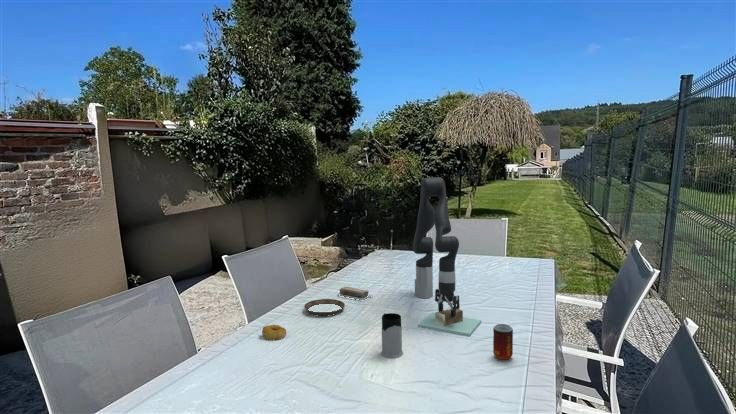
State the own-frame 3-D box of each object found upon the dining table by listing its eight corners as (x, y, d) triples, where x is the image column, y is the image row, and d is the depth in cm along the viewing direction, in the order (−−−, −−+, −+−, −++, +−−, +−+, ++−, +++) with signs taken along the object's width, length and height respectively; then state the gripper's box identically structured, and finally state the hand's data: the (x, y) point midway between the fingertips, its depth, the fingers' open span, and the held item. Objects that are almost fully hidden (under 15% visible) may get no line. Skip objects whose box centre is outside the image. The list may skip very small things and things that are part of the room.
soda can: (501, 351, 171) (501, 321, 169) (516, 358, 165) (517, 327, 164) (489, 356, 167) (489, 325, 165) (504, 363, 161) (504, 331, 160)
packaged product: (336, 288, 246) (347, 284, 254) (336, 297, 246) (347, 292, 254) (362, 293, 235) (372, 289, 243) (362, 302, 236) (373, 297, 244)
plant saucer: (352, 307, 228) (351, 301, 227) (332, 320, 209) (332, 314, 209) (318, 302, 236) (318, 296, 236) (296, 315, 218) (296, 308, 217)
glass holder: (384, 359, 166) (384, 321, 165) (374, 344, 180) (373, 309, 178) (406, 356, 168) (405, 318, 167) (394, 342, 182) (393, 307, 181)
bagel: (276, 342, 184) (275, 331, 184) (257, 338, 190) (256, 327, 189) (291, 335, 193) (291, 324, 192) (273, 330, 198) (272, 320, 198)
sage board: (417, 327, 198) (417, 324, 198) (432, 314, 214) (432, 312, 214) (469, 336, 186) (469, 333, 186) (481, 322, 202) (481, 320, 202)
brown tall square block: (462, 321, 201) (442, 326, 195) (455, 318, 205) (435, 323, 199) (462, 310, 200) (442, 315, 194) (455, 307, 205) (435, 312, 199)
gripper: (430, 277, 202) (430, 311, 204) (451, 285, 190) (451, 321, 191) (443, 275, 206) (443, 308, 207) (464, 282, 193) (463, 317, 195)
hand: (446, 314), depth 199 cm, fingers open, 8 cm apart
